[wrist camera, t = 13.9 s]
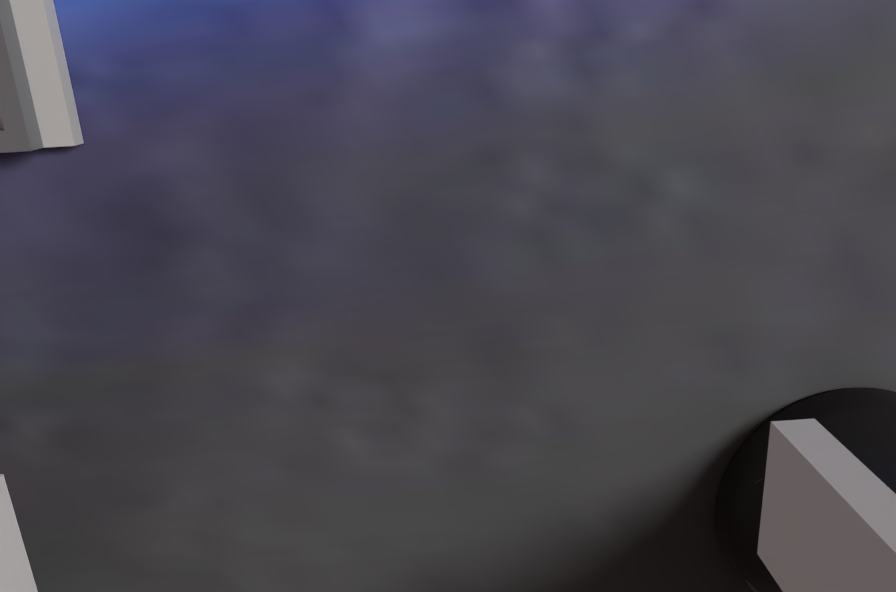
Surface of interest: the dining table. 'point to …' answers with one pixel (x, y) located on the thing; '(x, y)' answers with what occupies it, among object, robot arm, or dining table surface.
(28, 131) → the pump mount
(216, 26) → the dining table surface
